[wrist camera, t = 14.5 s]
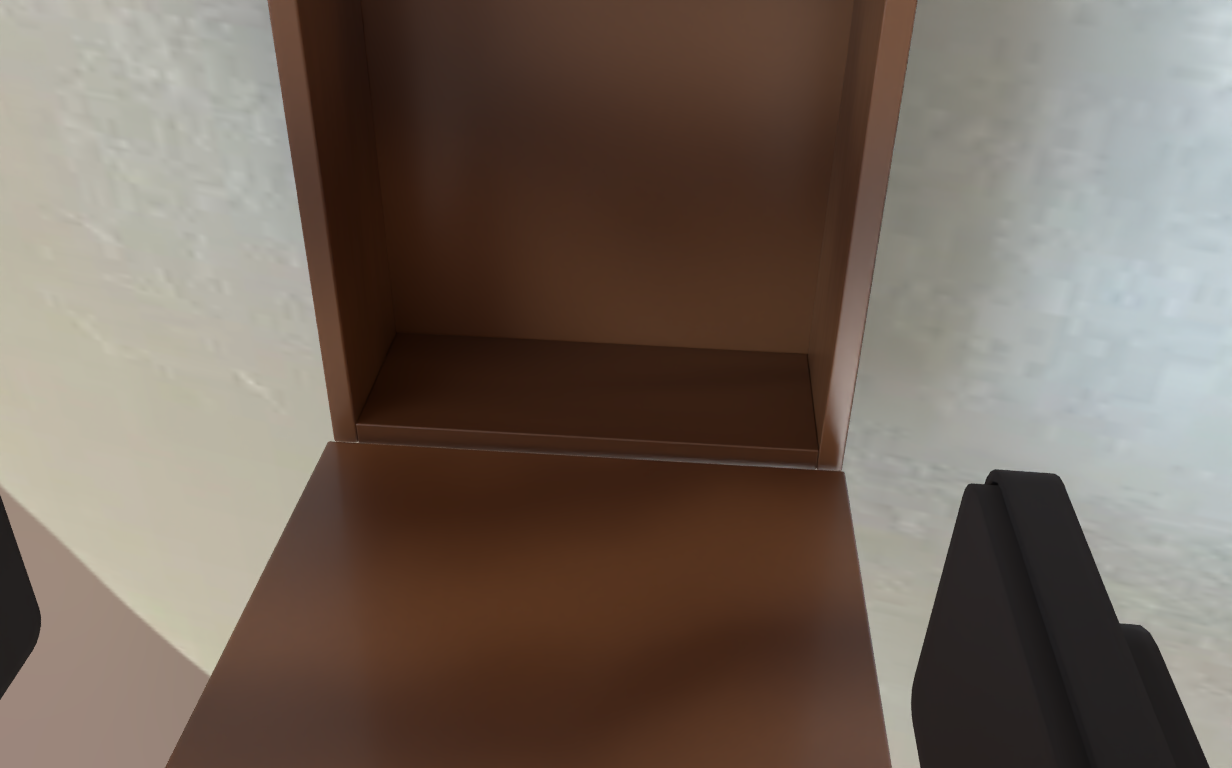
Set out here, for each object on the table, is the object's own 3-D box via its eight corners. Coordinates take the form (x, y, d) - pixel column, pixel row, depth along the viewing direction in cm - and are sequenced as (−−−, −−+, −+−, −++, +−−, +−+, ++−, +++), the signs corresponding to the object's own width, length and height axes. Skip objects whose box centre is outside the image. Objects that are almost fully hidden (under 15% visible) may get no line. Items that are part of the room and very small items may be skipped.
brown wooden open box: (321, -184, 29) (244, -144, 24) (900, -167, 28) (937, -122, 23) (382, 337, 37) (333, 442, 33) (825, 361, 37) (841, 472, 32)
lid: (39, 1014, 18) (109, 1169, 21) (945, 1093, 18) (895, 1243, 20) (328, 440, 32) (347, 580, 35) (844, 470, 31) (822, 611, 34)
